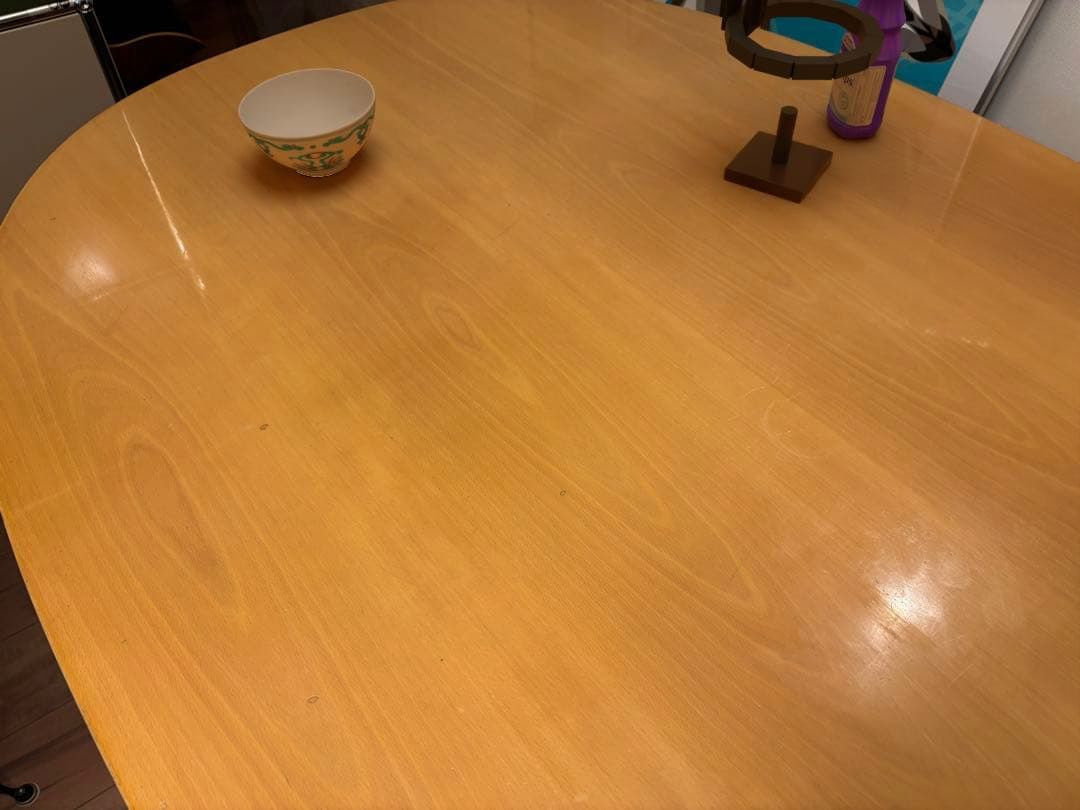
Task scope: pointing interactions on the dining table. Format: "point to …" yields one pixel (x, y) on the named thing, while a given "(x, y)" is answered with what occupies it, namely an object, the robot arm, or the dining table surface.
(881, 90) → the bottle
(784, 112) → the brown peg stand
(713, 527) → the dining table surface
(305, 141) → the chinaware
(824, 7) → the ring
